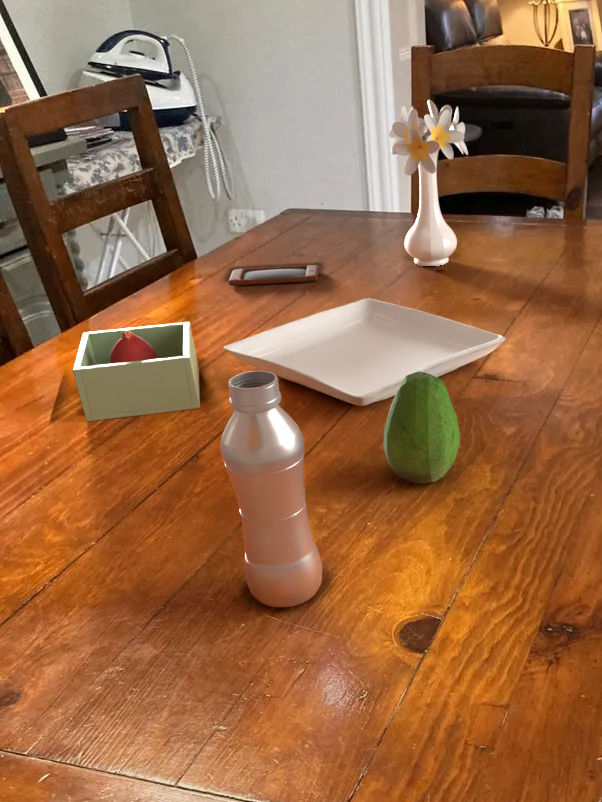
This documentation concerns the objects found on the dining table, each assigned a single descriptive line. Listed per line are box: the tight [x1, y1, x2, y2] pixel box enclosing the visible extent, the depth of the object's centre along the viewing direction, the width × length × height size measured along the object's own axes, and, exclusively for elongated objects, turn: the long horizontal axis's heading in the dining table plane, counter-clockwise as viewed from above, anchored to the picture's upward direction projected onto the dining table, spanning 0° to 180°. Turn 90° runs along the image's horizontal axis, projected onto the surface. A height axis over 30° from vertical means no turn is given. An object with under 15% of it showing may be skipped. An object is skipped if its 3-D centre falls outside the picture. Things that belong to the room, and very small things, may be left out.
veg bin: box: [72, 321, 201, 422], centre depth 119 cm, size 14×14×7 cm
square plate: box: [223, 298, 506, 407], centre depth 125 cm, size 27×27×4 cm
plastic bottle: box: [219, 370, 323, 608], centre depth 76 cm, size 6×7×20 cm
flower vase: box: [388, 99, 469, 267], centre depth 158 cm, size 13×18×25 cm
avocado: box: [383, 371, 461, 485], centre depth 96 cm, size 8×8×12 cm
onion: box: [110, 330, 158, 364], centre depth 118 cm, size 6×6×8 cm
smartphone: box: [228, 264, 320, 286], centre depth 160 cm, size 7×1×15 cm
